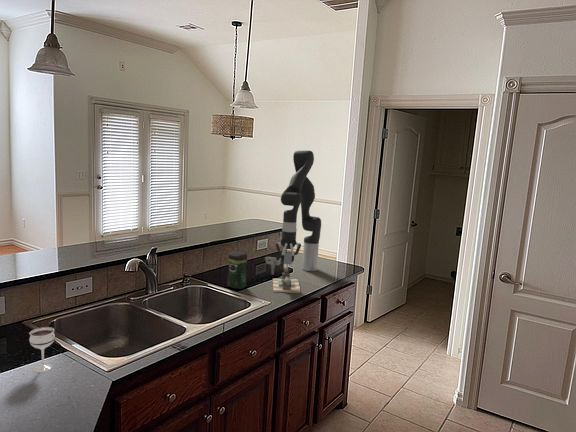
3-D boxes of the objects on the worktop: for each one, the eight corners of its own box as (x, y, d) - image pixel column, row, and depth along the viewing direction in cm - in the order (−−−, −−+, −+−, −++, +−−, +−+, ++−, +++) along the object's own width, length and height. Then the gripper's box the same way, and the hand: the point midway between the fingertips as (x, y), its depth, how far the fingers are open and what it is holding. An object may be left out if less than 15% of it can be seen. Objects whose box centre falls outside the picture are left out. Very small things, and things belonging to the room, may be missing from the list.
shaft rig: (272, 277, 237) (273, 262, 236) (297, 278, 238) (298, 263, 236) (273, 294, 209) (274, 276, 207) (301, 295, 209) (302, 278, 208)
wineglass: (43, 361, 133) (42, 325, 131) (60, 365, 131) (59, 329, 129) (24, 371, 126) (23, 334, 125) (42, 375, 125) (41, 338, 123)
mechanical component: (280, 276, 241) (281, 259, 239) (263, 274, 243) (264, 257, 241) (281, 274, 244) (282, 258, 242) (264, 272, 246) (265, 256, 244)
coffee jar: (248, 286, 218) (250, 252, 215) (238, 290, 212) (240, 254, 209) (234, 282, 223) (236, 249, 221) (224, 286, 217) (225, 251, 214)
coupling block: (283, 262, 223) (284, 250, 222) (290, 262, 223) (291, 250, 222) (283, 264, 219) (284, 251, 218) (291, 264, 219) (292, 252, 218)
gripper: (302, 229, 223) (300, 260, 225) (275, 228, 222) (273, 259, 224) (303, 232, 215) (301, 264, 218) (275, 230, 214) (274, 263, 217)
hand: (287, 261), depth 221 cm, fingers closed on coupling block, 4 cm apart
